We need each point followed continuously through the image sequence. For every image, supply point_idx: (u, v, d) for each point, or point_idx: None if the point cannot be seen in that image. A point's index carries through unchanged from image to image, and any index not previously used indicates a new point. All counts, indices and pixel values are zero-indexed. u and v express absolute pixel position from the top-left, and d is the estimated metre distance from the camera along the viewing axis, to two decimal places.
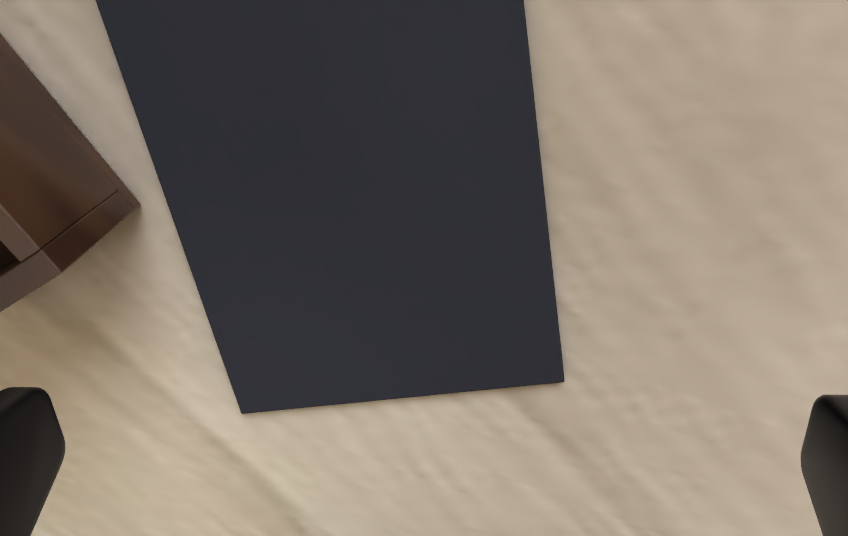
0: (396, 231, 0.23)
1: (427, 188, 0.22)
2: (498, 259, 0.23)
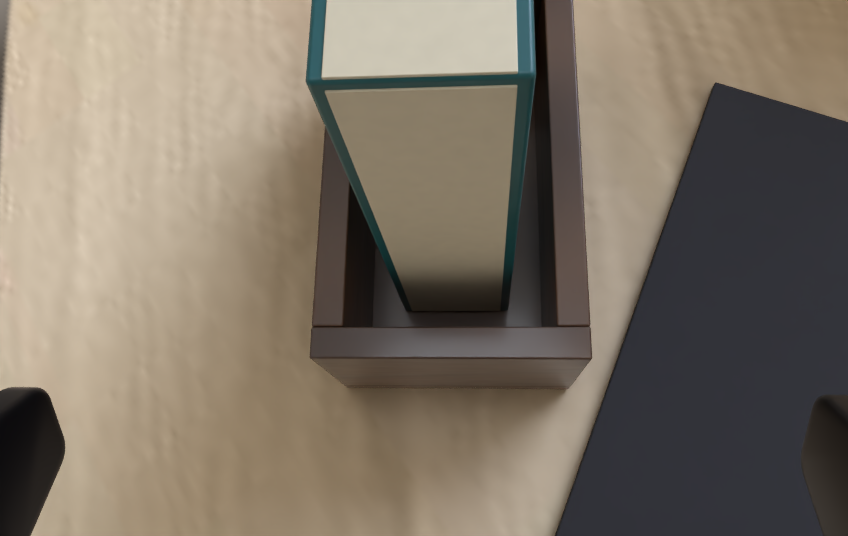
0: None
1: None
2: None
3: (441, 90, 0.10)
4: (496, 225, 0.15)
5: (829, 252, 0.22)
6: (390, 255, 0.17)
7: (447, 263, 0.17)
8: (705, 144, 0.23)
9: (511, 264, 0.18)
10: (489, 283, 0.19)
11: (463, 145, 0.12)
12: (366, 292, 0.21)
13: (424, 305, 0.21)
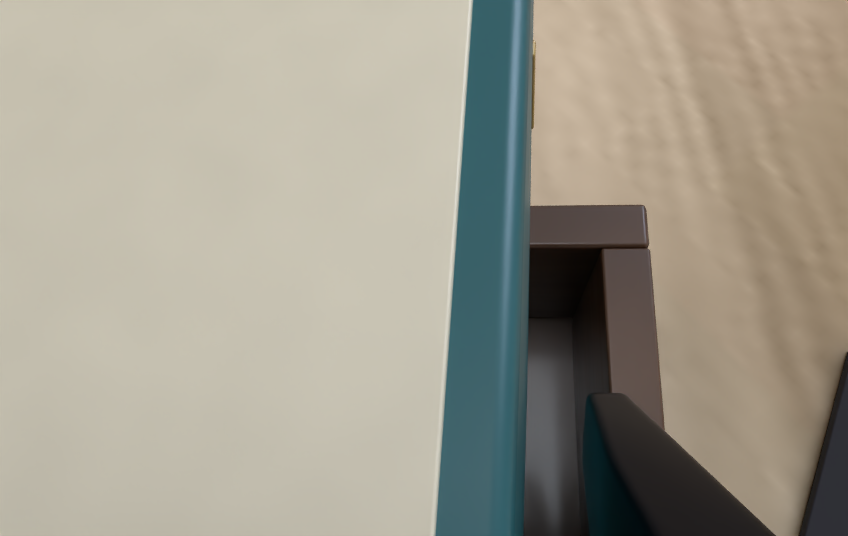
0: None
1: None
2: None
3: None
4: None
5: None
6: None
7: None
8: (844, 456, 0.15)
9: None
10: None
11: None
12: None
13: None
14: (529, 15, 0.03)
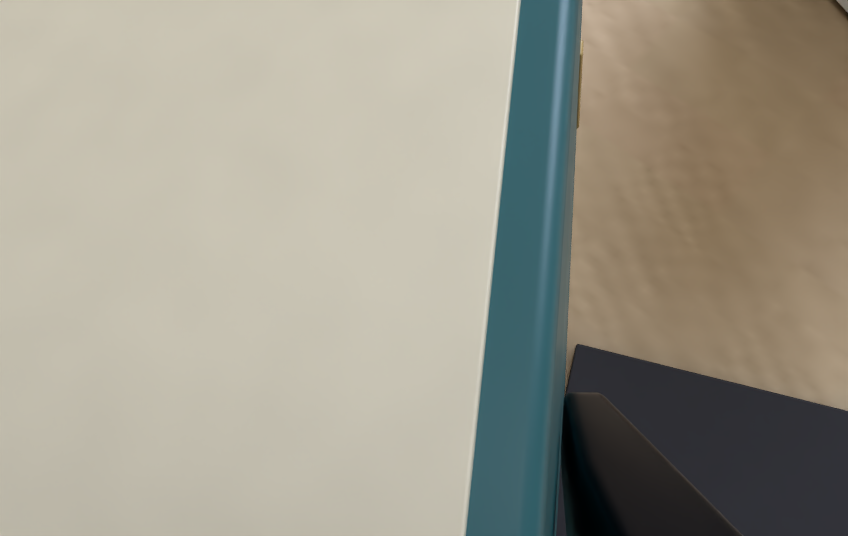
0: None
1: None
2: None
3: None
4: None
5: None
6: None
7: None
8: None
9: None
10: None
11: None
12: None
13: None
14: (577, 18, 0.03)
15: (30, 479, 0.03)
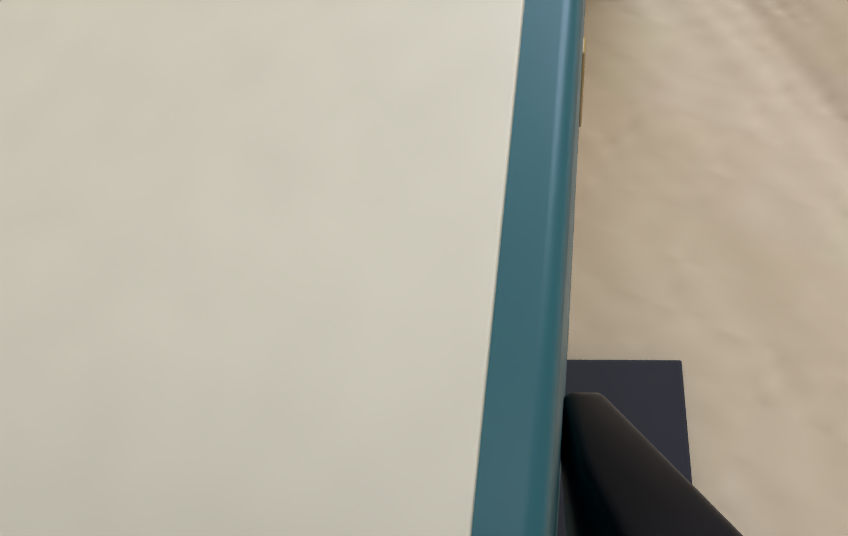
0: None
1: None
2: None
3: None
4: None
5: None
6: None
7: None
8: None
9: None
10: None
11: None
12: None
13: None
14: (581, 14, 0.03)
15: (33, 476, 0.03)
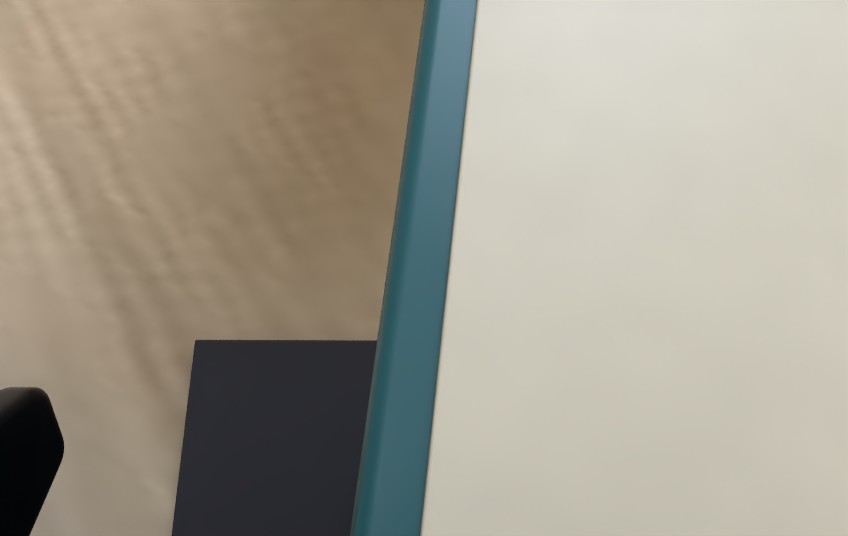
0: None
1: None
2: None
3: None
4: None
5: None
6: None
7: None
8: (197, 442, 0.16)
9: None
10: None
11: None
12: None
13: None
14: None
15: None
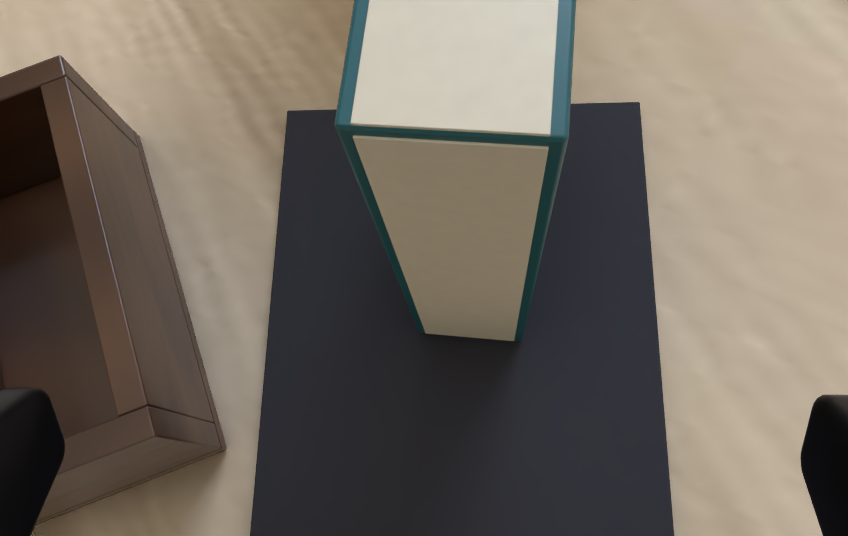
0: (500, 528, 0.20)
1: (542, 480, 0.21)
2: None
3: (471, 144, 0.10)
4: (516, 267, 0.15)
5: None
6: (407, 283, 0.17)
7: (464, 295, 0.17)
8: (292, 171, 0.24)
9: (528, 302, 0.17)
10: (504, 316, 0.19)
11: (488, 196, 0.11)
12: None
13: (438, 329, 0.21)
14: None
15: None
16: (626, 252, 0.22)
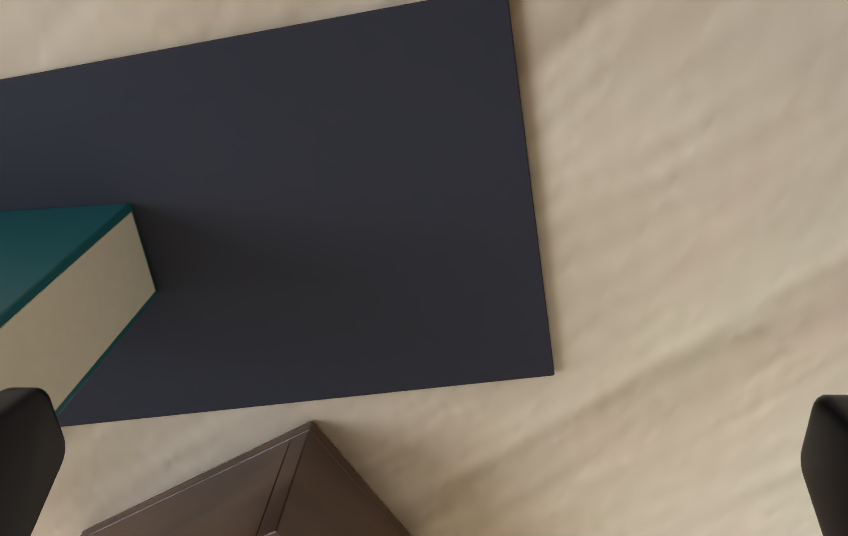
0: (307, 199, 0.21)
1: (252, 166, 0.21)
2: (328, 86, 0.19)
3: None
4: None
5: None
6: (68, 394, 0.18)
7: (64, 336, 0.18)
8: None
9: (47, 276, 0.17)
10: (87, 266, 0.19)
11: None
12: None
13: (142, 288, 0.22)
14: None
15: None
16: None
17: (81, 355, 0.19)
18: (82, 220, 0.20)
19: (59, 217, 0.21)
